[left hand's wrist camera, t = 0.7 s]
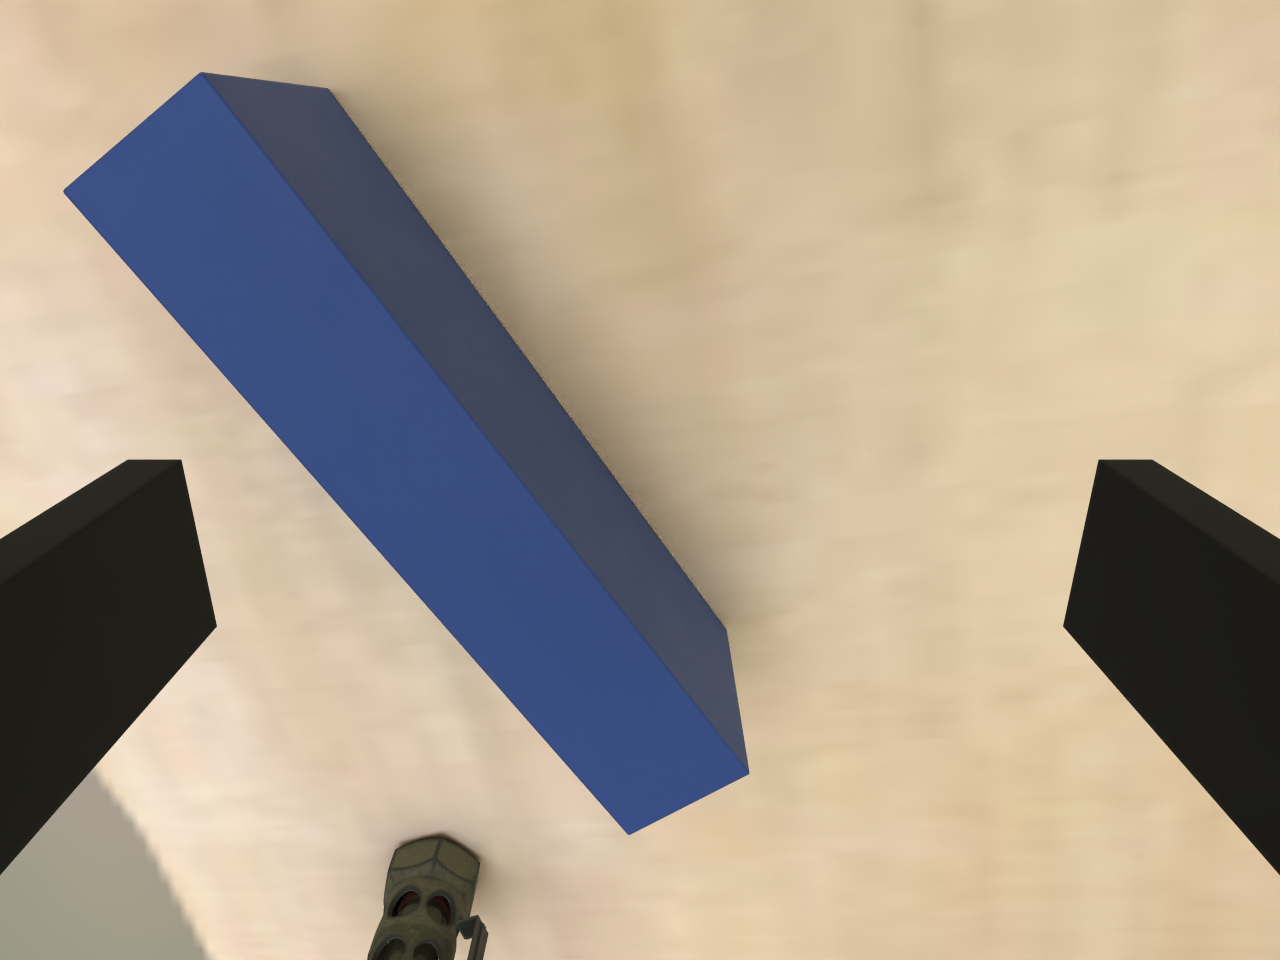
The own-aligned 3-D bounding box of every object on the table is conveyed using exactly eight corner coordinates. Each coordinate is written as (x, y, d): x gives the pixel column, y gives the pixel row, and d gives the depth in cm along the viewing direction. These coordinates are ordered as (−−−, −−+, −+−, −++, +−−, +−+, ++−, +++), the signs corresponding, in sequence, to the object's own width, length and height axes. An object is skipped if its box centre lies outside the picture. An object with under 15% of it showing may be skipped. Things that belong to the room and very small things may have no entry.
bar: (222, 174, 32) (60, 190, 23) (328, 87, 30) (200, 70, 22) (632, 683, 40) (628, 836, 31) (727, 630, 39) (750, 774, 30)
